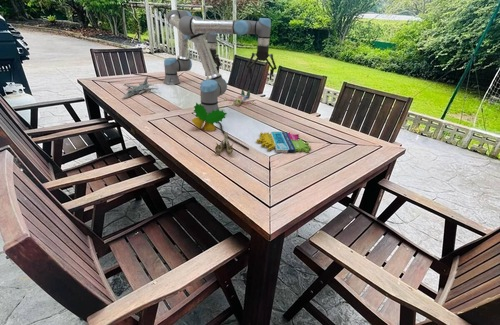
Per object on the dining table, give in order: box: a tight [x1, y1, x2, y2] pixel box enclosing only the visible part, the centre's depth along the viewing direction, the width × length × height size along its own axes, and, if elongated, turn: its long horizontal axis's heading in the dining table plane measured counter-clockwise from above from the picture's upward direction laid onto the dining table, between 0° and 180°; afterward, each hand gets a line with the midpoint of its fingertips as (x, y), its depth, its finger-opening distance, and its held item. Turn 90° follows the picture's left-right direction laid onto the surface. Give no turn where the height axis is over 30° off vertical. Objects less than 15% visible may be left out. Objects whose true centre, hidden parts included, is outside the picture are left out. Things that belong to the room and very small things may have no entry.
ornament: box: [191, 102, 228, 132], centre depth 162 cm, size 21×8×15 cm, turn 105°
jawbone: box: [214, 131, 234, 156], centre depth 136 cm, size 9×15×10 cm
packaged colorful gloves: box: [256, 131, 312, 154], centre depth 152 cm, size 26×2×30 cm
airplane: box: [121, 75, 158, 100], centre depth 222 cm, size 38×32×10 cm
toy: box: [223, 89, 257, 106], centre depth 219 cm, size 28×7×30 cm
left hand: (212, 75), depth 227 cm, fingers open, 13 cm apart
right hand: (260, 79), depth 178 cm, fingers open, 13 cm apart
